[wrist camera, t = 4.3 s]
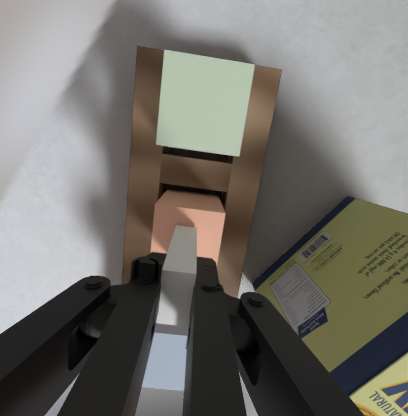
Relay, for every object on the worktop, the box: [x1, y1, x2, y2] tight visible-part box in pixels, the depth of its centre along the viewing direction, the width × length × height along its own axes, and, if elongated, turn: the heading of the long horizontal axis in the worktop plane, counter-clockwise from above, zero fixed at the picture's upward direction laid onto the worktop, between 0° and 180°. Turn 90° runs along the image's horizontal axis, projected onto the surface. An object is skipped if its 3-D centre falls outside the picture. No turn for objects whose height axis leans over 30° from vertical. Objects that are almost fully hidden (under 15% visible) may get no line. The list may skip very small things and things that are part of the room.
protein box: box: [253, 196, 408, 416], centre depth 21 cm, size 10×16×16 cm
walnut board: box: [122, 46, 282, 298], centre depth 24 cm, size 28×12×4 cm, turn 172°
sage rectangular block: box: [156, 50, 255, 156], centre depth 17 cm, size 5×5×7 cm
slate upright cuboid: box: [142, 319, 189, 391], centre depth 21 cm, size 5×5×7 cm
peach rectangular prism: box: [150, 189, 226, 266], centre depth 20 cm, size 5×5×7 cm
